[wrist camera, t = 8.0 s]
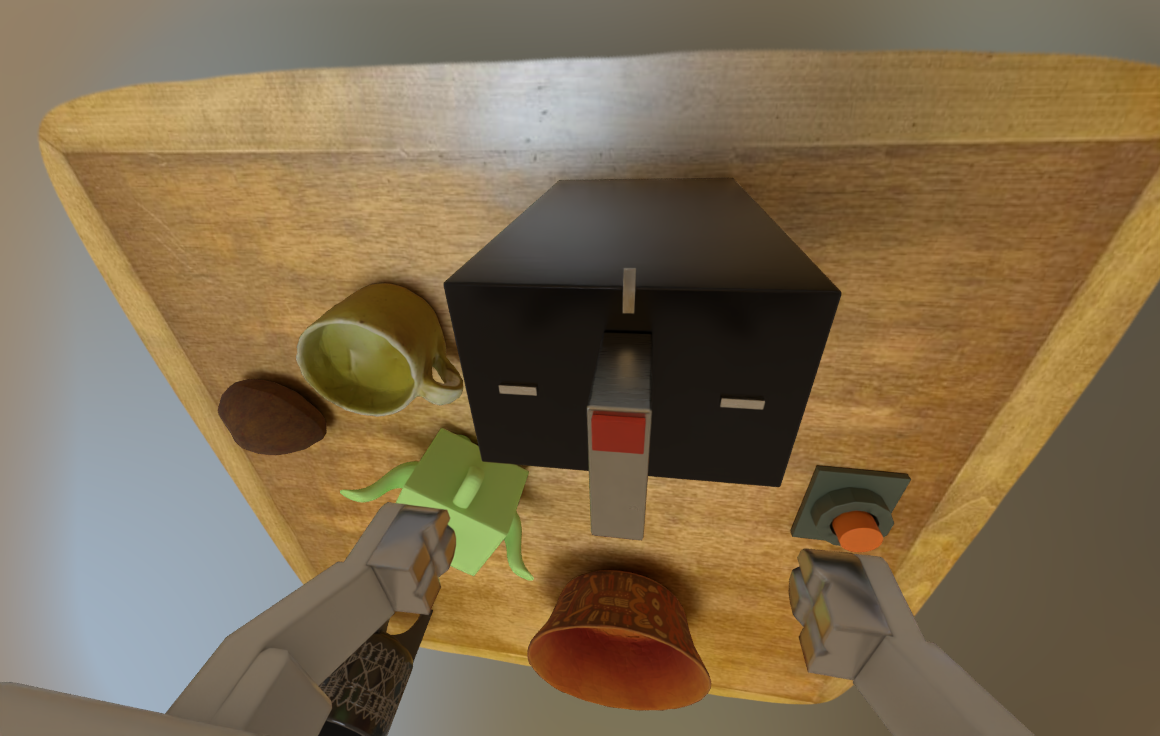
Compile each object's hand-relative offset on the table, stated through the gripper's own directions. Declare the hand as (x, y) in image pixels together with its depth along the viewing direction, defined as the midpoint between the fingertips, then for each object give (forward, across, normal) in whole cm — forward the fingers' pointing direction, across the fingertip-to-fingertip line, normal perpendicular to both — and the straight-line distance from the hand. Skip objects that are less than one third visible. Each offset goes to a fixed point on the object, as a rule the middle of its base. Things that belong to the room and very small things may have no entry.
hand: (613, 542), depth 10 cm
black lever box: (+26, 0, 0) cm, 26 cm away
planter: (+26, +35, +56) cm, 71 cm away
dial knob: (+6, 0, 0) cm, 6 cm away
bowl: (+26, +1, +48) cm, 54 cm away
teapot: (+26, +18, +26) cm, 41 cm away
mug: (+26, +20, +9) cm, 34 cm away
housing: (+26, -21, +27) cm, 43 cm away
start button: (+24, -21, +27) cm, 42 cm away
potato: (+26, +37, +18) cm, 49 cm away
